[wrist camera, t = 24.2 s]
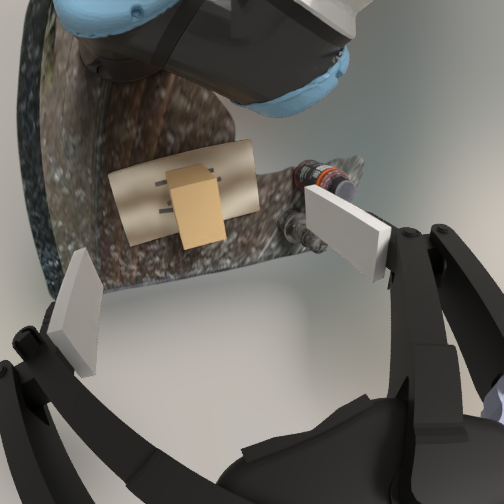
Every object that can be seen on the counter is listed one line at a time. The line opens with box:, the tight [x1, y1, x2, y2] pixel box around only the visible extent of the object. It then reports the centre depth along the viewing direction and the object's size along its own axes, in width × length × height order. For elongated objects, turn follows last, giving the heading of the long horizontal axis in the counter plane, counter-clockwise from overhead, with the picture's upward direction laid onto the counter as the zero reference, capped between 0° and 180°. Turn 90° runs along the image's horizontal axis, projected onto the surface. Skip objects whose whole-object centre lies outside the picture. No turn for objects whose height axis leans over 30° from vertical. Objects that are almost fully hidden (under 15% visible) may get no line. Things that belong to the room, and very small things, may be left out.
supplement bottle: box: [294, 160, 356, 203], centre depth 44 cm, size 6×6×11 cm
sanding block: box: [165, 163, 227, 250], centre depth 38 cm, size 8×6×10 cm
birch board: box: [108, 139, 260, 247], centre depth 42 cm, size 12×22×1 cm, turn 97°
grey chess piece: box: [277, 207, 328, 254], centre depth 47 cm, size 6×6×12 cm
